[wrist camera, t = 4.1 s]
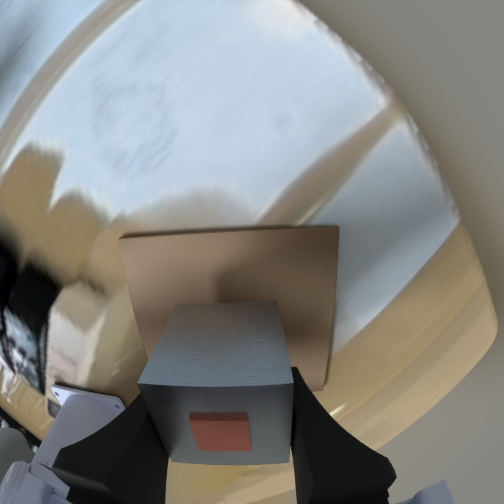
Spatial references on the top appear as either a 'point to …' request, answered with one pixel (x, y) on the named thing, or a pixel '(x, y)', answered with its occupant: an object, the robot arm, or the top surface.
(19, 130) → the top surface
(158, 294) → the board
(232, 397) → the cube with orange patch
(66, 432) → the robot arm
